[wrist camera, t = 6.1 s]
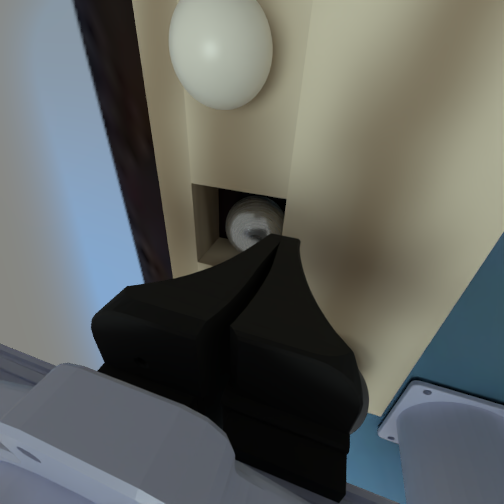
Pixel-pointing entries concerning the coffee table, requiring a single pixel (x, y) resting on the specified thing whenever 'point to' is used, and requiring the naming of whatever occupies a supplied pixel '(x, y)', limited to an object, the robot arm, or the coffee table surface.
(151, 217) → the coffee table surface
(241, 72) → the cream plastic ball
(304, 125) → the cream knobbed board
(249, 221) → the steel ball
